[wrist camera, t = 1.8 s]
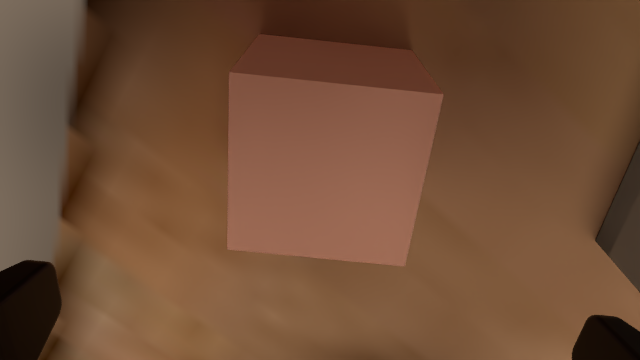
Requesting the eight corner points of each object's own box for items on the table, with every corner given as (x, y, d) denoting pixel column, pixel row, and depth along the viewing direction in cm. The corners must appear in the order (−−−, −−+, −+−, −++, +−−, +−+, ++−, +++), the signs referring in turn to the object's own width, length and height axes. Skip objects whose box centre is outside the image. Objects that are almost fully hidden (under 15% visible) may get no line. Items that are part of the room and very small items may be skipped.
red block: (386, 183, 18) (404, 266, 13) (254, 170, 17) (227, 249, 13) (411, 49, 15) (443, 94, 11) (259, 33, 15) (229, 72, 11)
